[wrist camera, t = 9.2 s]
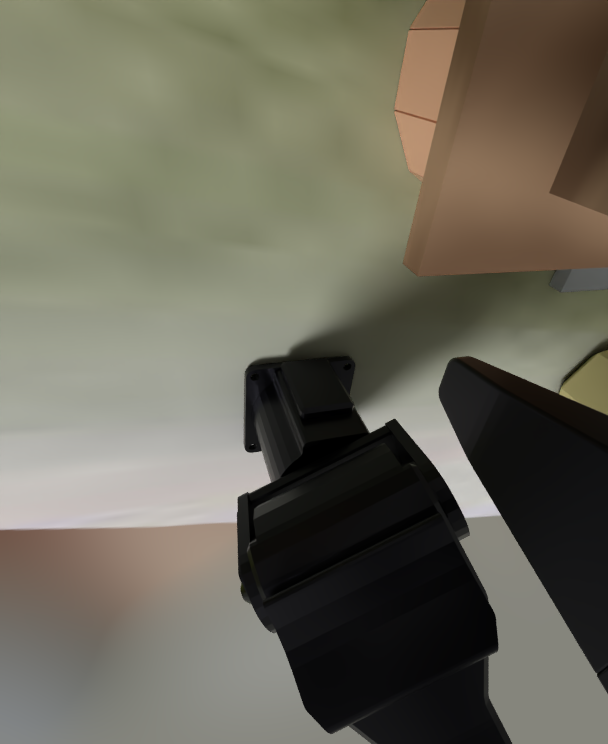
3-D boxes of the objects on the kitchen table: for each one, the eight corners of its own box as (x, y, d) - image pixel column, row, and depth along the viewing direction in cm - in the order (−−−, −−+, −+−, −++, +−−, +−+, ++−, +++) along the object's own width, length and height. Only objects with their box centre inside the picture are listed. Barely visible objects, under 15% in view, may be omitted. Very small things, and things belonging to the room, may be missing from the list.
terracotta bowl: (545, 202, 23) (624, 235, 19) (377, 200, 20) (432, 238, 16) (651, -57, 17) (795, -83, 13) (435, -112, 14) (541, -164, 11)
